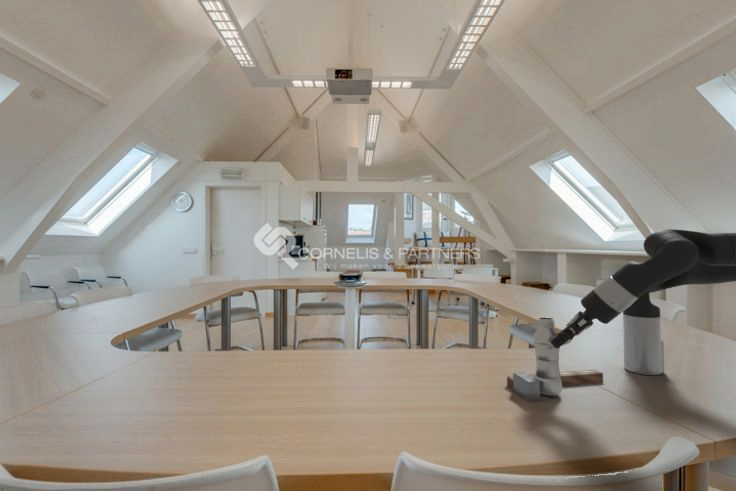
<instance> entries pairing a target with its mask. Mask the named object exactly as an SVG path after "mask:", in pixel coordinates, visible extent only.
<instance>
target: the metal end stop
mask: <svg viewBox="0 0 736 491" xmlns="http://www.w3.org/2000/svg"><path fill="white" fill-rule="evenodd" d="M530 375H531V374H528V373H526V372H525V371H515V372H513V373H512V376H513V388H514V389H513V392H515V393H516V394H517V395H518V396H520V397H521V398H523V399H524V400H526V401H527V402H529V403H531V402H541V394H540V381H539V380H537V379H535V378H533V377H532V376H530Z"/></svg>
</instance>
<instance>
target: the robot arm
mask: <svg viewBox="0 0 736 491" xmlns="http://www.w3.org/2000/svg"><path fill="white" fill-rule="evenodd" d="M643 250H644V251H645V253H646V254H647V255H648V256H649V257H650V258H649V259H647V260H645V261H643V262H640V263H639V262H637V261H634V260H633V261H629V262H627V263H625V264H624V265H623V266H621V267H620V268H619V269H618V270H617V271H615V272H614V273H613V274H612V275H610V277H607V278H606V279H605V280H603V281H601V283H599V284H598V285H597V286H596V287H594V288H593V289H592V290H591V291H589V293H588V294H586V295H585V296H584V297H582V298H581V300H580V304H581V306H582V307H583V309H584V311H581V310H579V311H578V312H577V313H576V314H575V315H573V318H572V319H570V321H569V322H567V323H566V326H565V327H564V328H563V329H562V330H561V331H560V332H557V333H558V335H557V336H556V337H555V338H554V339H553V340H551V344H552V345H553V346H554V347H555V348H559V347H560V348H561V346H563V345H564V344H565V343H567V342H568V341H571V340H573V339H574V338H575V336H579V335H581V334H582V333H583V332H585V331H586V330H588V329H589V328H591V327H592V326H593V325H594V321H593V320H598V322H600V323H602V324H604V325H607V324H610V322H612V321H613V320H614V319H615V318H617V317H618V316H620V314H622V320H623V323H622V324H623V326H622V327H623V328H622V329H623V330H622V331H623V332H622V333H623V364H624V365H623V367H624V369H625V370H627V371H629V372H631V373H636V374H639V375H645V376H660V375H662V373H665V346H664V345H665V342H664V341H663V340H662V338H661V337H662V335H661V334H662V333H661V330H662V329H661V309H660V307H659V306H658V305H656V304H654V303H653V302H651V298H650V293H655V292H661V291H664V290H667V289H672V288H677V287H680V286H687V285H688V286H689V285H715V284H716V285H717V284H725V283H732V282H736V232H716V233H715V232H713V233H712V232H711V233H708V232H703V231H702V232H701V231H694V230H685V229H674V228H673V229H672V228H668V229H661V230H657V231H654V232H652V233H650V234H649V235H647V237H646V238H645V239H644V242H643Z"/></svg>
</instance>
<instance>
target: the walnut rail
mask: <svg viewBox="0 0 736 491" xmlns="http://www.w3.org/2000/svg"><path fill="white" fill-rule="evenodd" d="M529 375H530V376H532V377H533V378H535V373H534V374H532V373H531V374H529ZM560 378H561V381H562V386H570V385H580V384H581V385H582V384H591V383H602V382H604V373H603V372H601V371H599V370H596V369H585V370H582V369H581V370H573V371H570V370H569V371H560ZM506 385H507V386H508V387H509V388H511V389H512V390H514V388H513V375H509V376H506Z"/></svg>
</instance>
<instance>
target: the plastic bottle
mask: <svg viewBox="0 0 736 491" xmlns="http://www.w3.org/2000/svg"><path fill="white" fill-rule="evenodd" d="M555 325H556V324H555V318H554V317H553V318H552V317H546V316H545V317H539V318H538V323H537V326H538V328H537V329H536V330H535V332H534V333H533V336H532V341H533V345H534V354H535V363H536V364H535V373H534V374H535V379H537V380H539V381H540V395H543V396H547V397H558V396H560V394H561V393H562V390H563V385H562V381H561V378H560V372H561V371H560V364H559V362H560V361H559V360H560V348H561V346H560V347H559V348H555V347H554V346H553V345H552V344H551V340H553V339H554V338H555V337H556V336H557V335H558V333H559V332H557V331H556V329H555V328H554V327H555Z"/></svg>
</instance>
